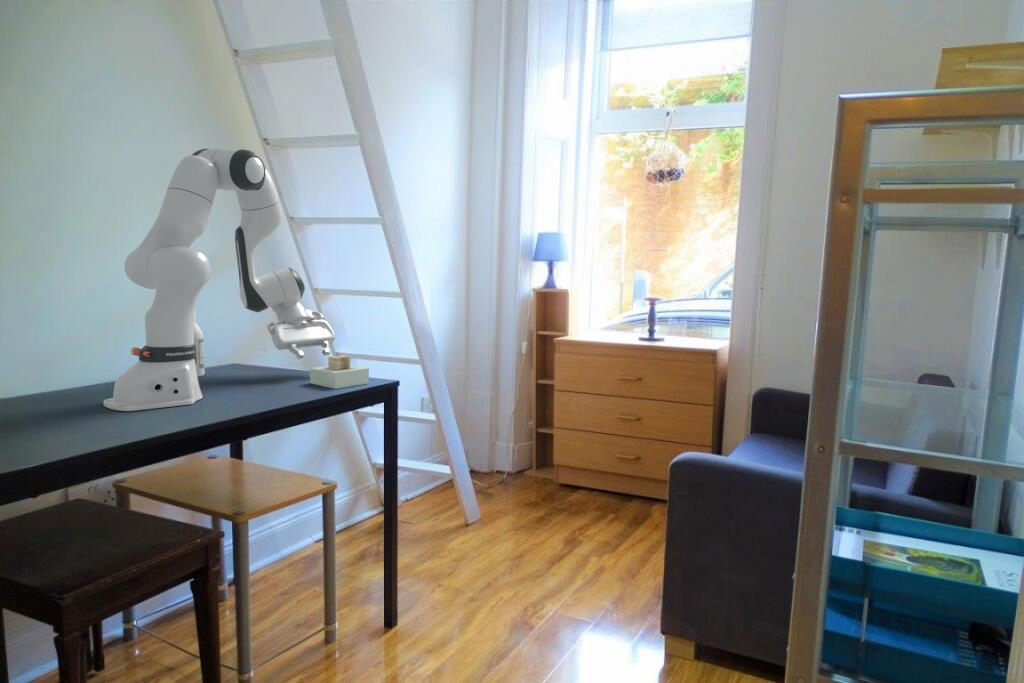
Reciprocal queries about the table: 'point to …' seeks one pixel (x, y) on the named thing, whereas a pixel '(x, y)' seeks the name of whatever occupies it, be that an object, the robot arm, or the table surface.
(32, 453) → the table surface
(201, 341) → the bath foam
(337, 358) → the birch peg
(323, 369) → the socket block
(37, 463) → the table surface
